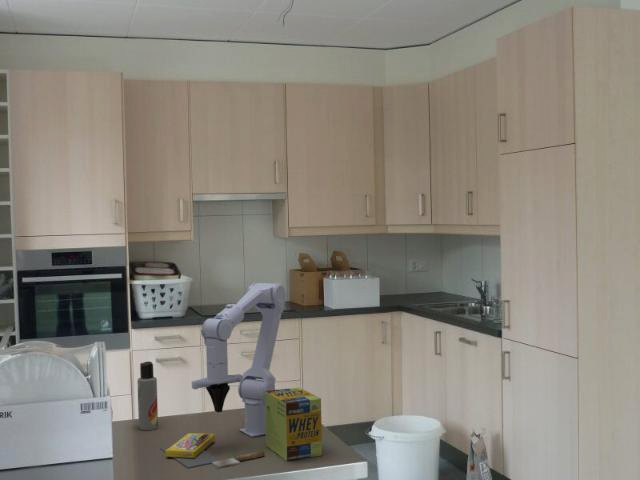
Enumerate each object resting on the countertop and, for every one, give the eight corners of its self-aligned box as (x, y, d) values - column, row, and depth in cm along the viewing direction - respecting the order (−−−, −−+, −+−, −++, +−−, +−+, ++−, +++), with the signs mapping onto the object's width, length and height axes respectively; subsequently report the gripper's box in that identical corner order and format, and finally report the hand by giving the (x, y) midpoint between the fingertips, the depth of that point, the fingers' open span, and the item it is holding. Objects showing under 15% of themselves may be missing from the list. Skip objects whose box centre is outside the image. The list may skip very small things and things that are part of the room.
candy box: (194, 450, 208) (164, 450, 210) (194, 458, 208) (165, 458, 210) (214, 432, 224) (187, 432, 226) (215, 440, 224) (187, 440, 226)
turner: (259, 454, 213) (259, 448, 212) (267, 458, 209) (266, 452, 209) (212, 464, 205) (211, 458, 205) (218, 468, 202) (218, 463, 202)
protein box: (286, 461, 206) (285, 403, 205) (265, 445, 220) (264, 390, 219) (323, 455, 210) (322, 398, 210) (299, 440, 224) (298, 386, 224)
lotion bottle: (162, 426, 240) (160, 361, 239) (148, 431, 235) (146, 365, 234) (148, 424, 243) (146, 359, 242) (134, 429, 238) (132, 363, 237)
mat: (189, 442, 224) (189, 441, 224) (220, 461, 207) (220, 460, 207) (159, 448, 219) (159, 447, 219) (187, 468, 202) (187, 467, 202)
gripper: (234, 356, 224) (235, 404, 225) (186, 363, 216) (188, 412, 217) (245, 360, 218) (247, 409, 219) (197, 367, 210) (198, 418, 211)
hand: (218, 411), depth 217 cm, fingers closed
